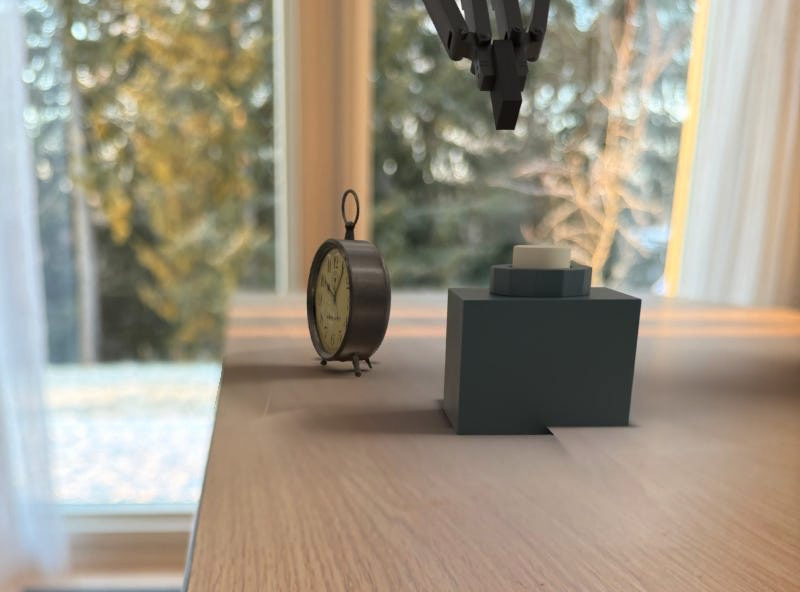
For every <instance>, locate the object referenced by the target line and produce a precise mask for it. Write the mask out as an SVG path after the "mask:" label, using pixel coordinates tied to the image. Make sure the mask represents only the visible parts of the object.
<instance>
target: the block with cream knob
mask: <svg viewBox="0 0 800 592" xmlns="http://www.w3.org/2000/svg"><path fill="white" fill-rule="evenodd" d="M512 265H513V263H507V264H495V265H491V266H490V269H489V271H490V272H489V287H448V288H447V303H446V304H447V305H446V327H445V352H444V353H445V355H444V375H443V376H444V377H443V378H444V379H443V402H442V404H443V405H442V409H443V411H444V413H445V415H446V417H447V419H448V421H449V423H450V425H451V426H452V428H453V430H454V432H455V434H456V435H457V436H554V435H555V434H554V433H553V432H552V430H550V428H548V427H629V422H630V413H631V403H632V393H633V387H634V386H633V384H634V375H635V366H636V357H637V356H636V355H637V350H638V349H637V348H638V339H639V329H640V322H641V321H640V320H641V312H642V311H641V310H642V302H643V299H642V298H639V297H637V296H634V295H630V294H627V293H624V292H621V291H618V290H616V289H612V288H610V287H606V286H592V277H593V266H591V265H590V266H589V265H584V264H571V263H570V268H557V269H535V268H513V267H512Z"/></svg>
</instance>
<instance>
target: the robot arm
mask: <svg viewBox="0 0 800 592" xmlns="http://www.w3.org/2000/svg"><path fill="white" fill-rule="evenodd" d="M421 1H422V3H423V5H424V7H425V10H426V12H427V14H428V16H429V17H430V20H431V22H432V24H433V26H434V29H435V31H436V32H437V35H438V37H439V39H440V40H441V43H442V46H443V47H444V49H445V52H446V54H447V56H448V58H449V59H450V60H451V61H453V62H460V61H463V59H467V60H469V61H471V62H470V68H469V71H470V74H472V75H474V76H475V80H476V86H477V88H478V89H479V90H478V91H480V92H489V95H490V102H491V108H492V115H493V120H494V126H495V131H515V130H516V127H517V123H518V119H519V116H520V112H521V109H522V104H523V95H522V93H523V92H524V90H525V87H526V84H527V81H528V76H529V73H530V70H529V64H528V62H530V63H535V62H537V61H538V60H539V59H540V55H541V51H542V48H543V44H544V40H545V37H546V32H547V27H548V20H549V15H550V14H549V13H550V6H551V0H532V2H531V7H530V12H529V13H530V14H529V15H530V16H529V20H528V26H525V27H524V24H523V19H522V12H521V7H520V2H519V0H490V6H491V11H493V12H494V16H495V22H496V28H497V33H498V39H493V29H492V25H491V24H492V23H491V18H490V13H489V7H488V6H489V5H488V0H460V7H461V9H460V7H459V4H458V3H457V1H456V0H421ZM462 11H463V13H462ZM463 15H464V16H463Z"/></svg>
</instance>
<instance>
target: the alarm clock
mask: <svg viewBox="0 0 800 592" xmlns="http://www.w3.org/2000/svg"><path fill="white" fill-rule="evenodd" d="M349 194H352V196H353V198H354V202H355V204H356V213H355V218H354V221H352V220H349V221H348V220H347V217H346V211H345V210H346V209H345V207H346V205H345V204H346V200H347V196H348V195H349ZM360 209H361V208H360V199H359V196H358V194H357V192H356V191H355V190H354V189H352V188H348V189H346V190H345V191H344V193H343V195H342V198H341V209H340V210H341V216H342V220H343V222H344V228H345V233H344V238H342V239H341V238H340V239H338V238H332V237H331V238H327V239H325V240H324V241H323V242H322V243H321V244H320V246H319V247H318V248H317V250H316V252H315V254H314V255H313V259H312V261H311V265H310V268H309V274H308V279H307V286H306V318H307V328H308V331H309V336H310V341H311V343H312V346H313V348H314V350H315V352H316V353H317V355H318V356H319V357H320V358H321V361H320V365H321V366H323V367H325V366H327V365H328V362H341V363H345V362H351V363H352V366H353V368H354V376H355V377H357V378H360V377H361V376H362V371H361V368H360V362H363V361H365V363H366V364H367V366H368V367H369V369H373V365H372V363H371V360H370V358H371V357H372V356H374V355H375V354H376V352H377V351H378V350H379V348H380V347H381V345H382V343H383V341H384V339H385V337H386V333H387V330H388V326H389V321H390V316H391V309H392V307H391V306H392V288H391V287H392V285H391V277H390V273H389V268H388V266H387V263H386V260H385V258H384V256H383V254H382V252H381V251H380V249H379V248H378V247H377V246H376V245H375V244H374V243H372V242H370V241H368V240H364V239H363V240H362V239H355V228H356V225H357V223H358V221H359V218H360Z"/></svg>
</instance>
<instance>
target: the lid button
mask: <svg viewBox="0 0 800 592" xmlns="http://www.w3.org/2000/svg"><path fill="white" fill-rule="evenodd" d="M512 250H513V251H512V264H513V265H512V267H513V268H535V269H557V268H570V264H571V256H572V245H563V244H522V245H521V244H519V245H514V246H513V248H512Z"/></svg>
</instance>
